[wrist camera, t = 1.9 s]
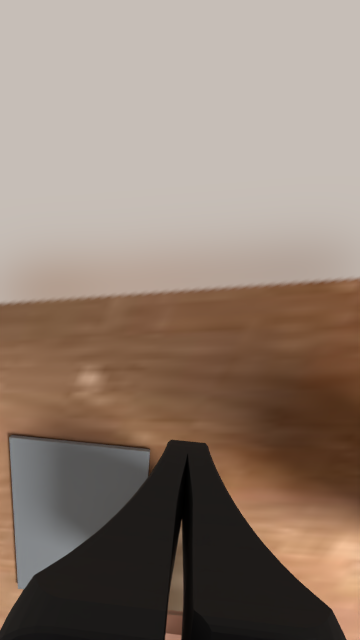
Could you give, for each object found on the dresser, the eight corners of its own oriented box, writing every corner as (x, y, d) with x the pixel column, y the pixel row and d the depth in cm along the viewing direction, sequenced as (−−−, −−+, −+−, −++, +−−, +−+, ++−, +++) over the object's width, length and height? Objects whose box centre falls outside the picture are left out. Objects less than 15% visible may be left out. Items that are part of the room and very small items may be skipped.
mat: (150, 449, 24) (149, 451, 23) (140, 599, 27) (139, 603, 27) (11, 435, 24) (9, 437, 24) (19, 584, 27) (18, 588, 27)
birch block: (209, 490, 24) (215, 639, 15) (199, 576, 26) (199, 751, 17) (154, 485, 24) (128, 628, 16) (148, 570, 26) (122, 740, 18)
